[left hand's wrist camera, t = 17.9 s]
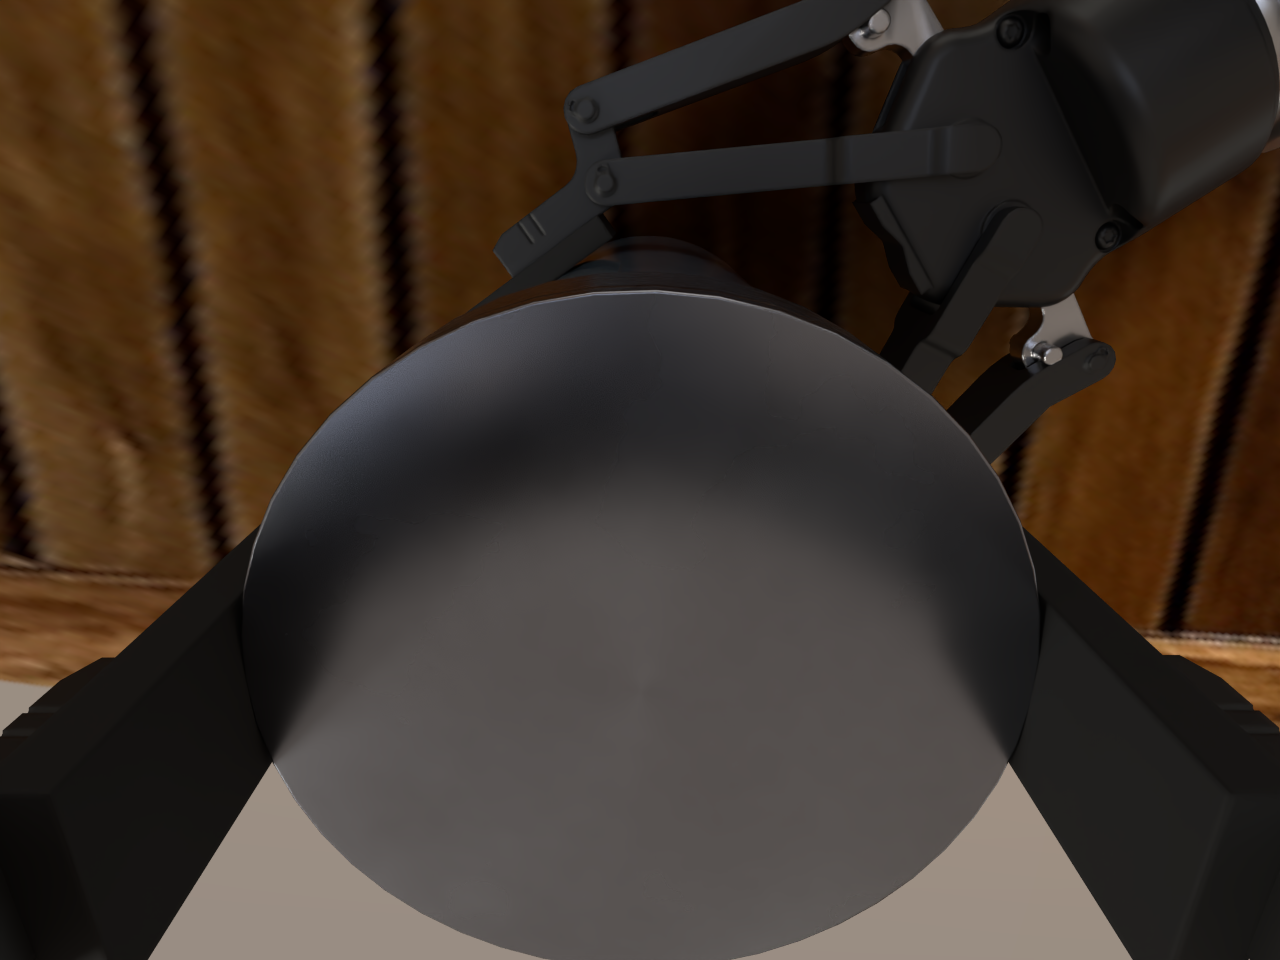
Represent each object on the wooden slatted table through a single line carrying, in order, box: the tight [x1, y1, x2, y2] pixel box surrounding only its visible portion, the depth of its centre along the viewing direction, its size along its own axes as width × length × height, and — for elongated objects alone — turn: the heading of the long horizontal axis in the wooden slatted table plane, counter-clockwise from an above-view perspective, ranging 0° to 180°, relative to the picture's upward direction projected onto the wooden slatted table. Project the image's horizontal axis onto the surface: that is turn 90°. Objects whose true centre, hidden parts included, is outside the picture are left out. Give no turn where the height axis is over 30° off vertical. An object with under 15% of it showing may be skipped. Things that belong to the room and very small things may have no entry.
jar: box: [556, 236, 752, 287], centre depth 23 cm, size 10×10×17 cm
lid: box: [241, 271, 1041, 960], centre depth 11 cm, size 11×11×2 cm
